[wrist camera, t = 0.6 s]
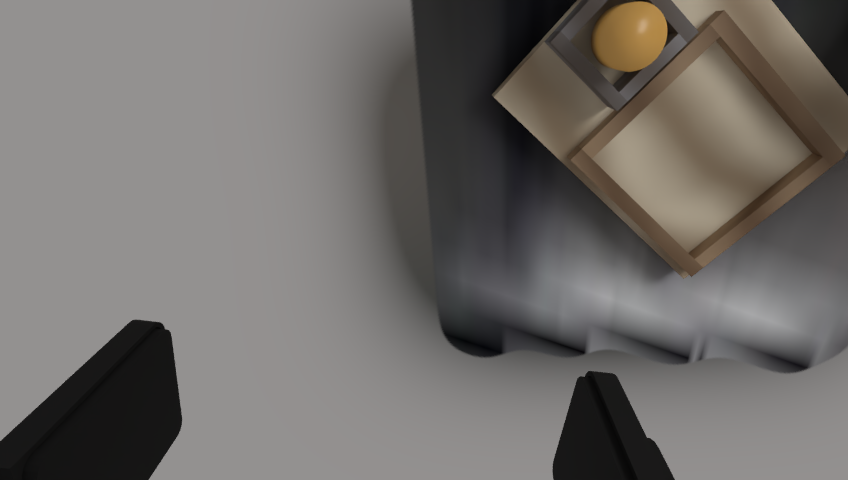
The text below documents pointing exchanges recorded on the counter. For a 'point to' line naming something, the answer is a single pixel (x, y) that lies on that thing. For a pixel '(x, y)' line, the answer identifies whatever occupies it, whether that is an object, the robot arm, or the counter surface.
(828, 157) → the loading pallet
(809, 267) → the counter surface
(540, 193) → the counter surface
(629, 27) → the button
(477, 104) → the counter surface
